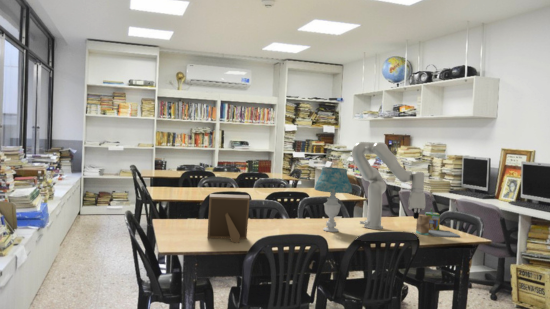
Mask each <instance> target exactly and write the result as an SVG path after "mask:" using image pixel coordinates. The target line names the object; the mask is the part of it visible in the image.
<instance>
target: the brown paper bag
mask: <svg viewBox="0 0 550 309" xmlns="http://www.w3.org/2000/svg"><path fill="white" fill-rule="evenodd" d="M429 219H430V217H429V216H427V215H425V214H420V213H419V217H418V219H416V226H415V227H416V229H415V233H416V234H419V236H420V235H421V236H429Z"/></svg>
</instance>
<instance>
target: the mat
mask: <svg viewBox="0 0 550 309" xmlns="http://www.w3.org/2000/svg"><path fill="white" fill-rule="evenodd" d="M428 236H431V237H433V238H434V237H437V238H439V237H440V238H461V235H459V234H457V233H455V232H453V231H450V230H440V229H439V230H429V234H428Z"/></svg>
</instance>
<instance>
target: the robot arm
mask: <svg viewBox="0 0 550 309" xmlns="http://www.w3.org/2000/svg"><path fill="white" fill-rule="evenodd" d="M365 155H376V156H377V157H378V159H380V160H381V161H382V162H383V164H384V165H385V166H386V167H387V168H388V170H389V171H390V172H391V173H392V174H393V176H394V177H396V179H398V181H400V182H401V183H409V182H410V183H411V187H410V188H409V191H410V193H409V196H408V201H407V202H408V207H407V209H408V210H410V211H412V212H413V214H412V215H413V218H414V220H417V219H418V217H419V214H420V212H422V211H425V209H426V193H425V192H424V191H425V190H424V189H425V188H424V186H425V172H423V171H412V170H406V169H405V168H404V167H403V166H402V165H401V164H400V163H399V161H398V159H397V158H398V157H397V156H396V155H395V154H394V153H393V152H392V151H391V150H390V149H389V147H388V145H387V144H386V143H384V142H379V141H378V142H370V141H359V142H357V143H355V144H354V145H353V148H352V149H351V156H352V160H353V162H354V163H355V166H356V167H357V170H358V172H359V173H360V175H361V177H362V179H363V180H364V181H365V182H366V181H367V182H369V184H368V187H367V212H366V213H367V214H366V216H367V217H366V219H365V220H364V221H363V220H359V224H360V225H363V227H364V228H366V229H371V230H382V229H384V226H383V225H382V215H383V214H382V213H383V194H384V193H385V192H386V190H387V184H386V182H385V181H384V178H383V177H382V175H381V173H380V172H379V170H378V169H377V168H376V167H373V166H372V165H371V164H370V162H369V160H368V158H367V157H366V156H365Z"/></svg>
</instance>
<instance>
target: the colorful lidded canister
mask: <svg viewBox="0 0 550 309" xmlns="http://www.w3.org/2000/svg"><path fill="white" fill-rule="evenodd" d="M424 215H427V216H429V217H430V219H429V230H440V222H441V221H440V220H441V219H440V218H441V214H440V213H438V212H433V209H432V208H430V211H425V212H424Z"/></svg>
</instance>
